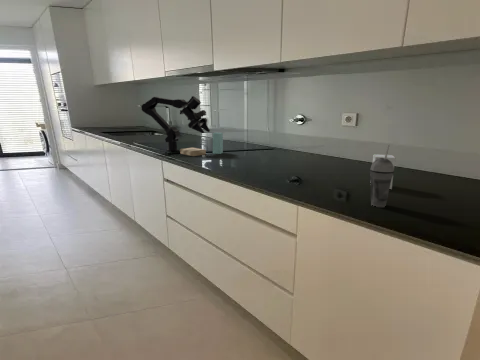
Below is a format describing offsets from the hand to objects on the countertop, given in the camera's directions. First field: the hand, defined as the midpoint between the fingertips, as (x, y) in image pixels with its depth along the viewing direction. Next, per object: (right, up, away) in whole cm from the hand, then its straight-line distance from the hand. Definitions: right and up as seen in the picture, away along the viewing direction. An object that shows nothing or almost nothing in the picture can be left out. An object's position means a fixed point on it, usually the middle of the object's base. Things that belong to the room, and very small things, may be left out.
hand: (206, 132), depth 215 cm
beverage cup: (+67, -39, -106) cm, 131 cm away
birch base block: (-8, -14, -3) cm, 17 cm away
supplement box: (+78, -34, -83) cm, 118 cm away
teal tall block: (+7, -14, +1) cm, 15 cm away
